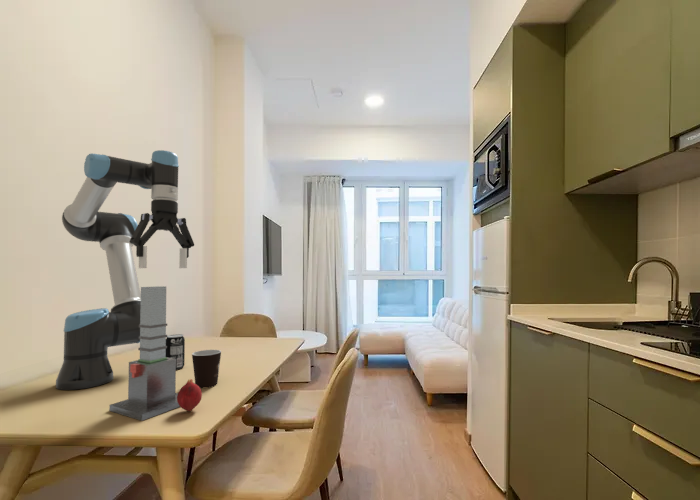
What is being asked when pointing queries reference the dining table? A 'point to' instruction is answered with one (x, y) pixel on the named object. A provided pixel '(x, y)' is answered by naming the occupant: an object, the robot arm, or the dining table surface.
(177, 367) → the beverage can
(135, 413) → the stand
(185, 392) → the onion
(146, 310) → the column
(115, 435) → the dining table surface
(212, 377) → the coffee mug
